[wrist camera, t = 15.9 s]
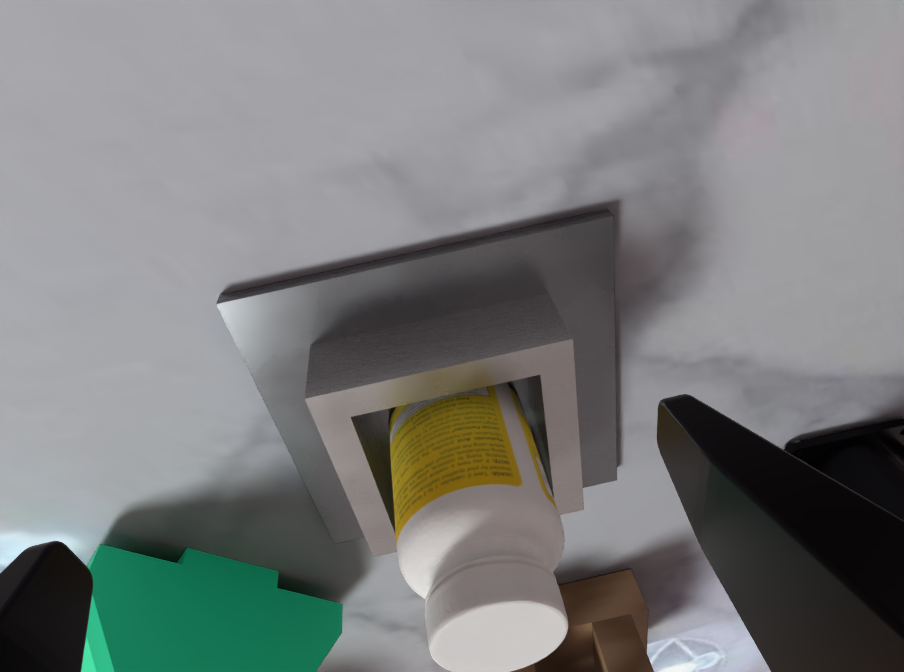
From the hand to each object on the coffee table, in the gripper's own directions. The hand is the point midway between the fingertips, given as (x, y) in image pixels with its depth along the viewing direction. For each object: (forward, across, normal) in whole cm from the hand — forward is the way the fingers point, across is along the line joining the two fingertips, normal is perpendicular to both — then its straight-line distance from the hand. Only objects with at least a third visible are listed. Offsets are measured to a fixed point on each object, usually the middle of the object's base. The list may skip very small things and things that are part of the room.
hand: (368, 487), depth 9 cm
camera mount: (+13, +14, +20) cm, 28 cm away
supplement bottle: (+12, -1, +10) cm, 16 cm away
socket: (+13, -1, +10) cm, 16 cm away
